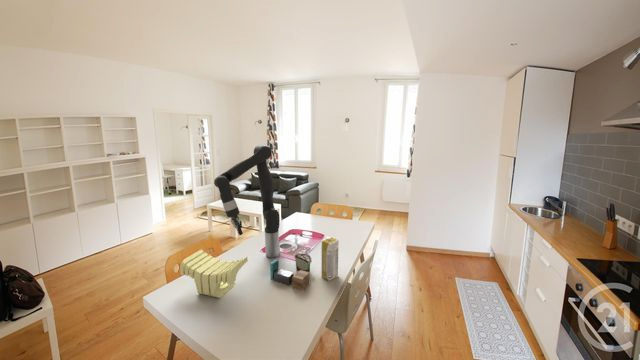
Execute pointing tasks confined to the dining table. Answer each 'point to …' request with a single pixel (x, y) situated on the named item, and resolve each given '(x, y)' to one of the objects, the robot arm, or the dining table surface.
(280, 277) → the sleeve
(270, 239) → the robot arm
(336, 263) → the juice carton
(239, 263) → the slatted curved stool
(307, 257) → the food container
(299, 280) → the brown block
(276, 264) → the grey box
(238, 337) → the dining table surface
